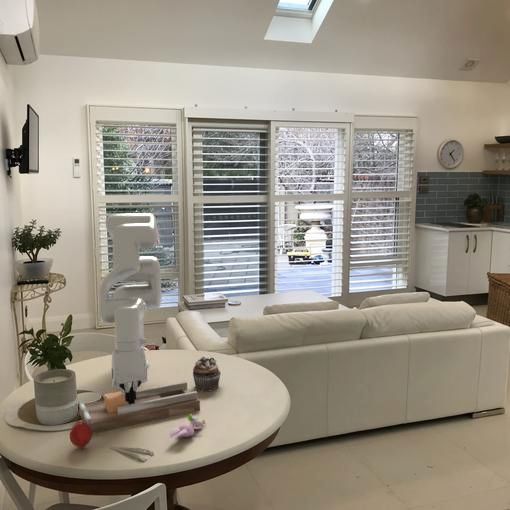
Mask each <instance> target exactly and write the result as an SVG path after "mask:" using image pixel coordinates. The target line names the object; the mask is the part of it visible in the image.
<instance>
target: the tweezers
mask: <svg viewBox="0 0 510 510" xmlns="http://www.w3.org/2000/svg"><path fill="white" fill-rule="evenodd" d="M107 448H108V449H113V450H115V451H118V452H120V453H123V454H125V455H128V456H131V457H133V458H135V459H137V460H139V461H141V462H147V461H148V458H146V457H145V458H144V457H142V456H141V455H138V454H136V453H137V452H138V453H141V454H146V455H147V454H148V455H150V456H154V455H155V452H154V451H152V450H149V449H145V448H141V447H128V446H115V445H114V446H112V445H109V446H107ZM131 451H133V452H131ZM134 452H136V453H134Z"/></svg>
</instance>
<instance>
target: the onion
mask: <svg viewBox="0 0 510 510" xmlns="http://www.w3.org/2000/svg"><path fill="white" fill-rule="evenodd" d="M69 439H70V443H72V445H73V446H75V447H77V448H79V449H84V448H85V447H86V446H87V445H89V443H90V442H91V441H92V439H93V433H92V430H91V428H90V426H89V425H87V424H86V423H84V422H83V421H82V419H80V420H79V421H78V422H77V423H76V424H75V425H74V426H73V427H72V428H71V430H70V432H69Z"/></svg>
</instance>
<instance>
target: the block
mask: <svg viewBox="0 0 510 510" xmlns="http://www.w3.org/2000/svg"><path fill="white" fill-rule="evenodd" d="M104 400H105V408H106V409H107V411H108V413H113V412H117V407H120V406H125V396H124V395H123V392H122V391H121V390H120V391H116V392H110V393H105V394H104Z"/></svg>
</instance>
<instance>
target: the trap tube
mask: <svg viewBox="0 0 510 510" xmlns="http://www.w3.org/2000/svg"><path fill="white" fill-rule="evenodd" d="M197 391H198V390H195V391H191V390H190V389H189V388H188V382H187V381H181V382H175V383H171V384H170V383H169V384H164V385H161V386H160V385H159V386H155V387H150V388H144V389H137V390H136V400H135V404H130V405H129V403H128V402H127V401H126V400H125V406H120V407H117V412H113V413H108V411H107V409H106V408H105V399H104V400H100V401H94V402H90V403H89V402H88V403H85V402H84V401H83V400H78V409H79V410H78V412H79V417H80V416H81V417H80V419H81V418H82V419H81V421H82V420H83V421H82V422H84V423H86V424H87V425H89V426H90V428H91V430H92V434H96V433H100V432H104V431H108V430H112V429H118V428H123V427H127V426H132V425H136V424H141V423H145V422H146V423H147V422H150V420H151V421H155V420H158V419H159V420H160V419H164V418H167V417H172V416H177V415H178V416H179V415H182V414H187V413H191V411H192V412H195V410H196V411H199V410H200V409H201V402H200V401H201V400H200V399H199V398H198V392H197ZM122 393H123V392H122ZM123 395H124V396H125V392H124V393H123Z"/></svg>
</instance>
